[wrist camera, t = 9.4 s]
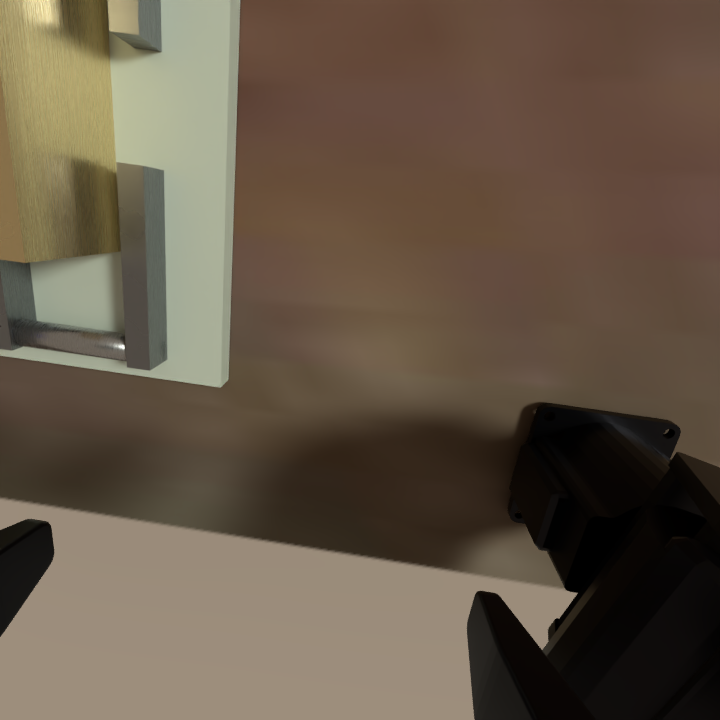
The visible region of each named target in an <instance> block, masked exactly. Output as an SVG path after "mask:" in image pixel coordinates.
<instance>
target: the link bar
mask: <svg viewBox="0 0 720 720" xmlns="http://www.w3.org/2000/svg"><path fill="white" fill-rule="evenodd" d="M112 252H121V245H120V226H119V206H118V188H117V171H116V153H115V136H114V119H113V102H112V84H111V67H110V50H109V32H108V15H107V0H0V260H7V261H15V262H22V263H28V262H37V261H45V260H54V259H62V258H70V257H79V256H87V255H96V254H104V253H112Z"/></svg>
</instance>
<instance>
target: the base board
mask: <svg viewBox="0 0 720 720" xmlns="http://www.w3.org/2000/svg"><path fill="white" fill-rule="evenodd" d="M107 15H108V32H109V50H110V67H111V84H112V102H113V119H114V136H115V153H116V162H120V163H127V164H134V165H142V166H147V167H151V168H156V169H160V170H164V201H165V255H166V309H167V360H166V361H164V362H163V363H161V364H160V365H158V366H157V367H155V368H153V369H152V370H150V371H148V370H141V369H134V368H128V367H127V361H120V360H113V359H106V358H100V357H93V356H86V355H79V354H72V353H65V352H58V351H51V350H44V349H37V348H30V347H21V348H18V349H15V350H12V351H10V350H3V349H0V356H7V357H14V358H21V359H28V360H35V361H42V362H49V363H55V364H62V365H69V366H76V367H83V368H90V369H97V370H104V371H111V372H117V373H124V374H131V375H138V376H145V377H152V378H159V379H166V380H173V381H179V382H186V383H193V384H200V385H207V386H214V387H222V386H223V385H224V384H225V383H226V382H227V381H228V376H229V345H230V313H231V281H232V249H233V217H234V185H235V154H236V122H237V90H238V58H239V26H240V0H161V39H162V52H157V51H150V50H142V49H135V48H133V47H132V46H131V45H129V44H128V43H126V42H125V41H123V40H122V39H120V38H119V37H117V36H116V35H114V34H113V33H111V32H110V31H109V13H108V0H107ZM116 171H117V168H116ZM117 188H118V187H117ZM30 268H31V277H32V285H33V293H34V301H35V310H36V318H37V321H42V322H49V323H56V324H63V325H70V326H77V327H84V328H91V329H98V330H105V331H112V332H119V333H125V322H124V303H123V284H122V264H121V252H112V253H104V254H96V255H87V256H79V257H70V258H62V259H54V260H45V261H37V262H30Z"/></svg>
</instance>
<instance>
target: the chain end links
mask: <svg viewBox="0 0 720 720" xmlns="http://www.w3.org/2000/svg"><path fill="white" fill-rule="evenodd" d="M108 13H109V31H110V32H111V33H113V34H114V35H116V36H117V37H119V38H120V39H122V40H123V41H125V42H126V43H128V44H129V45H131V46H132V47H133V48H135V49H142V50H150V51H157V52H162V39H161V0H108ZM116 168H117V187H118V206H119V226H120V245H121V264H122V284H123V303H124V322H125V333H119V332H112V331H105V330H98V329H91V328H84V327H77V326H70V325H63V324H56V323H49V322H42V321H37V318H36V310H35V301H34V293H33V285H32V277H31V268H30V262H28V263H22V262H15V261H7V260H0V349H3V350H10V351H12V350H15V349H18V348H21V347H30V348H37V349H44V350H51V351H58V352H65V353H72V354H79V355H86V356H93V357H100V358H106V359H113V360H120V361H127V367H128V368H134V369H141V370H148V371H150V370H152V369H153V368H155V367H157V366H158V365H160V364H161V363H163V362H164V361H166V360H167V309H166V255H165V201H164V170H160V169H156V168H151V167H147V166H142V165H134V164H127V163H120V162H116Z"/></svg>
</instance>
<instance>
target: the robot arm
mask: <svg viewBox="0 0 720 720" xmlns="http://www.w3.org/2000/svg"><path fill="white" fill-rule="evenodd" d="M547 412H552V414H551V416H550V417H547V418H545V417H544V415H545V413H547ZM667 429H669V431H668V433H666V434H663V433H664V431H665V430H667ZM680 433H681V431H680V428H679V427H678V426H677V425H676V424H674V423H673V422H671V421H669V420H663V419H656V418H649V417H642V416H635V415H628V414H622V413H615V412H608V411H601V410H594V409H587V408H580V407H573V406H566V405H559V404H552V403H545V404H542V405H540V406H539V407H538V408H537V410H536V413H535V416H534V420H533V423H532V426H531V430H530V433H529V437H528V440H527V442H526V443H524V444H523V445H522V446H521V448H520V452H519V455H518V459H517V462H516V466H515V469H514V473H513V476H512V480H511V483H510V487H509V489H510V491H511V493H512V495H511V498H510V502H509V505H508V513H509V516H510V518H511V519H512V520H513V521H514V522H518V523H524V524H526V526H527V528H528V531H529V533H530V535H531V537H532V539H533V542H534V544H535V545H536V546H537V548H538V549H539V550H542V551H547V552H548V554H549V556H550V558H551V560H552V563H553V565H554V567H555V569H556V571H557V573H558V575H559V577H560V579H561V581H562V583H563V585H564V587H565V589H566V590H567V591H570V592H576V593H578V594H577V595H576V597H575V598H574V599H573V601H572V602H571V604H570V605H569V607H568V608H567V609H566V611H565V612H564V613H563V615H562V616H561V617H560V619H558V618H557V619H555V620H554V621H553V623H552V624H551V626H550V627H549V629H548V640H549V642H548V643H547V644H546V646H545V647H544V649H543V650H541V648H539V646H538V645H537V643H536V642H535V641H534V640H533V638H532V637H531V636H530V634H529V633H528V632H527V631H526V629H525V628H524V627H523V625H522V624H521V623H520V622H519V620H518V619H517V618H516V617H515V615H514V614H513V613H512V611H511V610H510V609H509V608H508V606H507V605H506V604H505V602H504V601H503V600H502V599H501V597H500V596H499V595H497V594H496V593H491V592H485V591H478V592H477V593H476V594H475V597H474V600H473V604H472V607H471V611H470V614H469V618H468V622H467V637H468V649H469V661H470V673H471V685H472V697H473V709H474V719H475V720H720V468H719V467H717V466H714V465H712V464H709V463H706V462H704V461H701V460H699V459H696V458H693V457H691V456H688V455H686V454H683V453H680V452H677V453H676V454H675V456H674V457H673V458H672V460H671V459H670V458H671V455H672V453H673V451H674V448H675V446H676V444H677V441H678V439H679V436H680ZM518 510H519V511H520V513H515V512H516V511H518ZM53 557H54V546H53V538H52V529H51V525H50V524H49V523H48V522H46V521H41V520H35V519H27V520H24V521H21V522H19V523H16V524H14V525H12V526H9V527H7V528H5V529H2V530H0V637H1V635H2V634H3V632H4V631H5V630H6V628H7V627H8V625H9V624H10V623H11V621H12V620H13V618H14V617H15V615H16V614H17V612H18V611H19V609H20V608H21V607H22V605H23V603H24V602H25V601H26V599H27V598H28V596H29V595H30V593H31V592H32V591H33V589H34V588H35V586H36V585H37V583H38V582H39V580H40V579H41V577H42V576H43V574H44V573H45V572H46V570H47V569H48V567H49V565H50V564H51V562H52V560H53Z"/></svg>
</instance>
